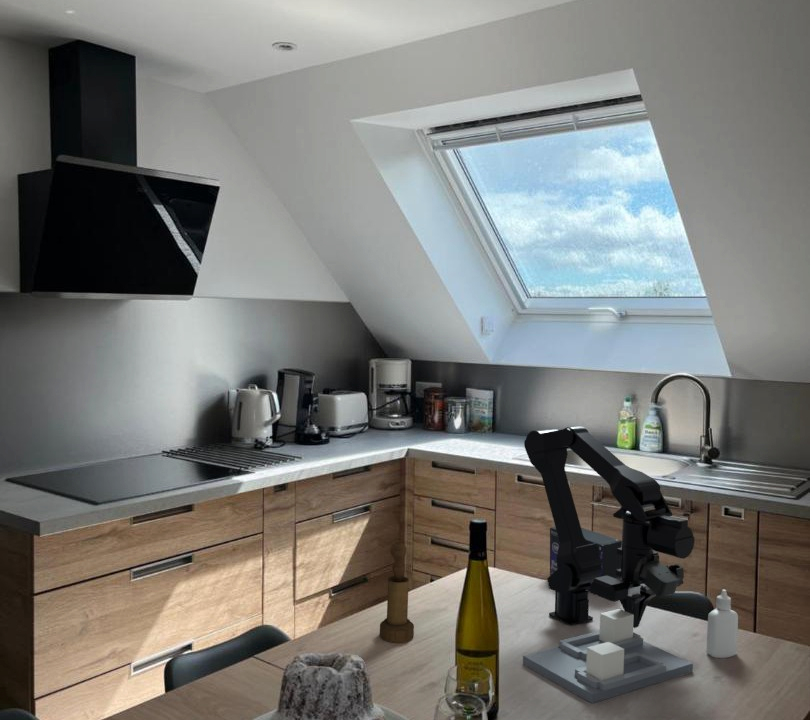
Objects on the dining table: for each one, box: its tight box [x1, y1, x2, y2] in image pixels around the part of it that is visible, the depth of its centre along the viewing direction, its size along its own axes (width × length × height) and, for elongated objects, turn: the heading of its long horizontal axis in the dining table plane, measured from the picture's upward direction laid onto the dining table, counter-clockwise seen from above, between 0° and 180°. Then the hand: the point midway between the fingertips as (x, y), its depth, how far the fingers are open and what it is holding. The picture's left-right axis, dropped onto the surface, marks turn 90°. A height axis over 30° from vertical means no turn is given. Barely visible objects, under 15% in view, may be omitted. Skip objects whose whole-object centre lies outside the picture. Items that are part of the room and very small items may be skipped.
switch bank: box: [522, 630, 694, 704], centre depth 147 cm, size 17×24×2 cm
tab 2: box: [586, 642, 624, 681], centre depth 139 cm, size 4×5×5 cm
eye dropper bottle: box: [706, 589, 739, 659], centre depth 153 cm, size 4×6×12 cm
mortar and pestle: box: [379, 541, 415, 644], centre depth 158 cm, size 7×6×18 cm
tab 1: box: [599, 608, 634, 643], centre depth 155 cm, size 4×5×5 cm
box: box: [549, 526, 622, 592], centre depth 192 cm, size 17×7×12 cm, turn 33°
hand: (634, 626), depth 157 cm, fingers closed
